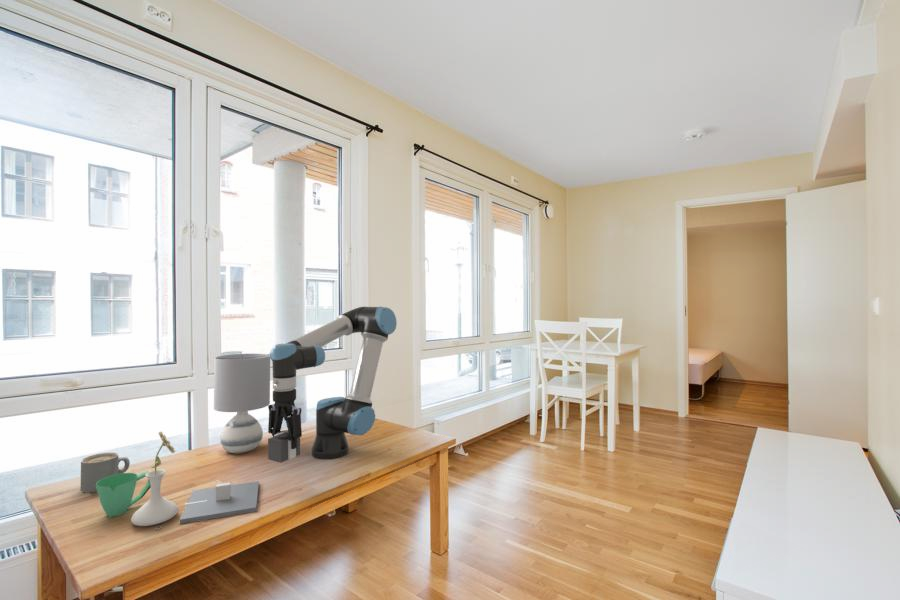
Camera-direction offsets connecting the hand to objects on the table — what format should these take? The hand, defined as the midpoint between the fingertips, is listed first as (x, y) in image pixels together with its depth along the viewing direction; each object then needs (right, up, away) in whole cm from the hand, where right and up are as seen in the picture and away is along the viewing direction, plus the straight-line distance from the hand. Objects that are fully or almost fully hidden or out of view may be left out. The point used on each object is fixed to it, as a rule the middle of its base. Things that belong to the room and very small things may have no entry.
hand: (284, 455), depth 143 cm
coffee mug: (-63, -11, +2) cm, 64 cm away
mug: (-43, -11, -15) cm, 47 cm away
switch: (-16, -11, -10) cm, 22 cm away
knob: (0, 0, 0) cm, 0 cm away
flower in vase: (-30, -11, -20) cm, 38 cm away
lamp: (-33, -11, +37) cm, 51 cm away
